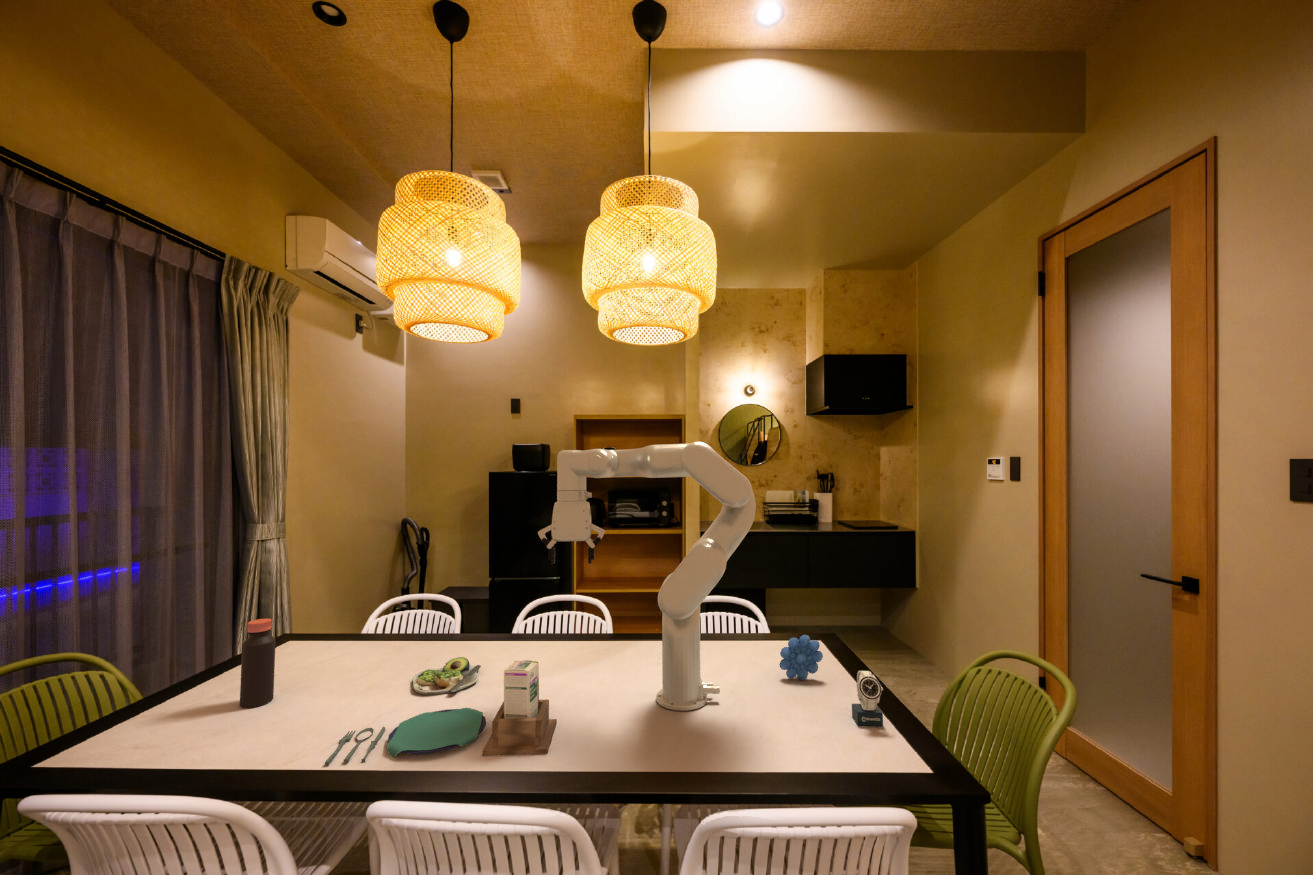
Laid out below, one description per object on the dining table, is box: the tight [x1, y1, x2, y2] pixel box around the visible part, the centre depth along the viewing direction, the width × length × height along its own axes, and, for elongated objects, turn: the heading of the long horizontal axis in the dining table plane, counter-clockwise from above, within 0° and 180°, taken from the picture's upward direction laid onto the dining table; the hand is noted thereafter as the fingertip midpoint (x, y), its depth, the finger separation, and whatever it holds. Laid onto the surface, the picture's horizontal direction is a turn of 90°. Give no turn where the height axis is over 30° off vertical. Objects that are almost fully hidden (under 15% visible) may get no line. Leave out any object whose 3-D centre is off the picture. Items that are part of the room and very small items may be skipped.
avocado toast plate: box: [412, 656, 482, 696], centre depth 144 cm, size 19×18×5 cm
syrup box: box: [503, 659, 540, 719], centre depth 115 cm, size 6×6×14 cm
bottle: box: [239, 618, 276, 709], centre depth 133 cm, size 7×7×20 cm
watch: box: [851, 670, 884, 728], centre depth 121 cm, size 6×8×11 cm
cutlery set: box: [324, 707, 487, 767], centre depth 115 cm, size 20×30×2 cm, turn 102°
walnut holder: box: [481, 698, 557, 757], centre depth 114 cm, size 13×13×6 cm
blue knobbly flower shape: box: [779, 634, 824, 681], centre depth 146 cm, size 12×7×12 cm, turn 84°
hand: (571, 563), depth 138 cm, fingers open, 9 cm apart
